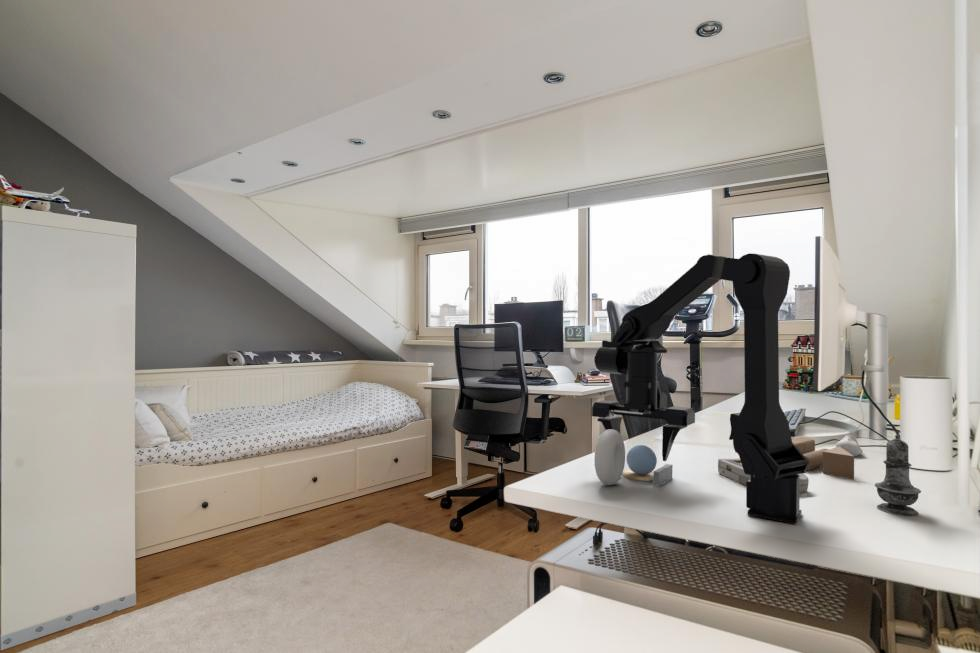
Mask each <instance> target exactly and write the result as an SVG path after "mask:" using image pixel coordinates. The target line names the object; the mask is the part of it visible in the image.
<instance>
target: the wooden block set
mask: <svg viewBox="0 0 980 653" xmlns="http://www.w3.org/2000/svg"><path fill="white" fill-rule="evenodd" d="M791 439H792V443H793V444H794V445H795V446H796V447H797V448H798V449H799V451H800V452H801V453H802V454H803V455H804V456H805V457H806V459H807V460H808V461H809V464H808V467H807V469H806V472H807V471H809V470H813V469H816V468H820V467H822V474H825V475H830V476H835V477H840V478H846V479H851V480H855V456H853V455H851V454H850V453H849V452H847V451H846V450H844V449H843V448H841V447H840V446H839V447H836V446H835V447H833V448H820V449H817V450H816V441H815V439H813V438H810V437H808V436H807V437H806V436H796V437H793V438H792V437H791Z"/></svg>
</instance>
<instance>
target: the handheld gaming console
mask: <svg viewBox="0 0 980 653" xmlns="http://www.w3.org/2000/svg"><path fill="white" fill-rule="evenodd" d="M717 470H718V471H717V472H718V474H719V475H722V476H723V477H726V478H728V479H730V480H732V481H734V482H737V483H738V484H740V485H744V486H746V482H747V481H748V480H749V479H750V475H748V474H745V473H744V470H743V467H742V463H741V460H740V457H739V458H737V457H736V458H718V459H717ZM797 475H800V486H799V494H800V493H806V492H807V491H808V489H809V483H810V482H809V477H808V476H807V475H806V474H805V473H804V474H797Z"/></svg>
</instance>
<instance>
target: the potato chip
mask: <svg viewBox="0 0 980 653" xmlns="http://www.w3.org/2000/svg"><path fill="white" fill-rule="evenodd" d="M653 475H654V471H652V472H651V473H649V474H646V475H639V474H636V473H634V472H633V471H632V470H631V469H629V470H625V471H624V470H623V473H622V476H623V477H624V478H625V479H629V480H634V481H641V482H651V481H652V482H653Z"/></svg>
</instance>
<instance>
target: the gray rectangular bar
mask: <svg viewBox="0 0 980 653" xmlns="http://www.w3.org/2000/svg"><path fill="white" fill-rule="evenodd" d="M653 472H654V475H653V481H652V482H653V486H656V487H660V486H661V485H663V483H664V484H665V483H667V482H669V481H671V479H673V464H669V463H666V464H665V465H663V466H661V467H659V468H657V469H654V470H653Z"/></svg>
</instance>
